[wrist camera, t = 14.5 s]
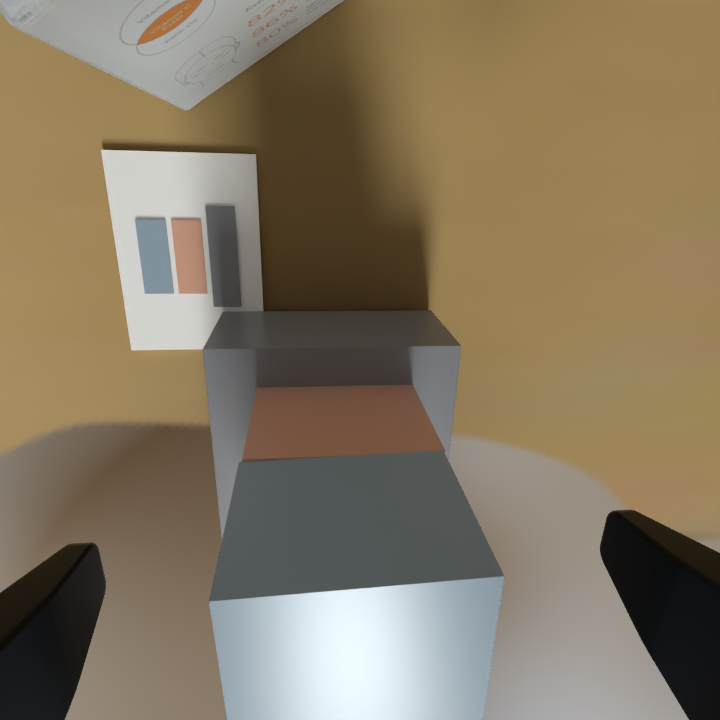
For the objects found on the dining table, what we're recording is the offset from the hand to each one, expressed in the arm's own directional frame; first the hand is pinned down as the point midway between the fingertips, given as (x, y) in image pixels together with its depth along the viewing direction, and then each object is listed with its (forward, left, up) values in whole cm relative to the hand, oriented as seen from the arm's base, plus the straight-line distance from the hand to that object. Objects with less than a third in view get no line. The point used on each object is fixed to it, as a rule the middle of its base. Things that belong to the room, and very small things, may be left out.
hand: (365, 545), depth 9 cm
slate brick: (0, +4, -4) cm, 5 cm away
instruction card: (+5, -3, -12) cm, 13 cm away
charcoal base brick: (0, +4, -12) cm, 12 cm away
